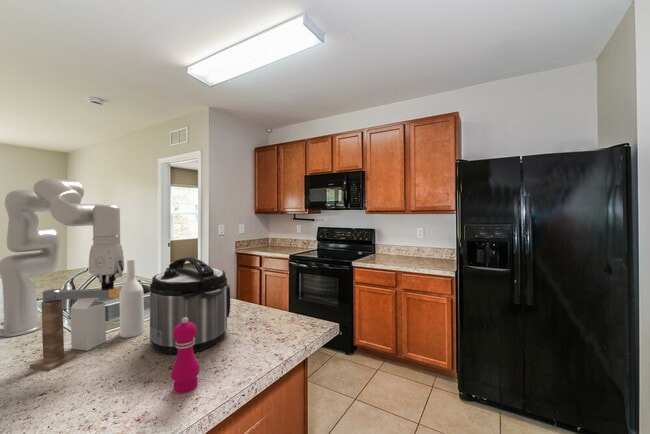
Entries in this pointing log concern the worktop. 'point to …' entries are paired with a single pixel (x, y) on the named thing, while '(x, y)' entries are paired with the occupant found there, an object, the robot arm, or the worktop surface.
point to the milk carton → (87, 323)
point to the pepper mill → (185, 358)
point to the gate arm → (79, 294)
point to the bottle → (131, 304)
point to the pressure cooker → (188, 304)
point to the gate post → (52, 337)
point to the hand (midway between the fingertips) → (107, 293)
